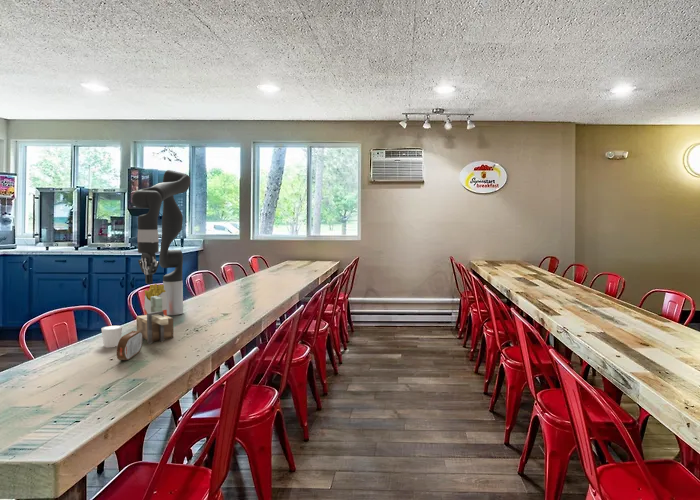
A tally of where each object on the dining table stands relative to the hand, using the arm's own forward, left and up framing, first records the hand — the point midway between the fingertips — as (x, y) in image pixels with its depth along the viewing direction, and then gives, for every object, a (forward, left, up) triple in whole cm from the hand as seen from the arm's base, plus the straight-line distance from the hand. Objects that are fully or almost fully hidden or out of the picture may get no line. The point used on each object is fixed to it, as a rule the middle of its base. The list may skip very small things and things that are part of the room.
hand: (149, 283), depth 161 cm
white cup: (-2, -13, -23) cm, 27 cm away
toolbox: (-1, +2, -23) cm, 23 cm away
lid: (-3, +3, -16) cm, 16 cm away
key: (+10, 0, -14) cm, 17 cm away
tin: (+17, -13, -23) cm, 32 cm away
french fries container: (-26, +13, -23) cm, 37 cm away
